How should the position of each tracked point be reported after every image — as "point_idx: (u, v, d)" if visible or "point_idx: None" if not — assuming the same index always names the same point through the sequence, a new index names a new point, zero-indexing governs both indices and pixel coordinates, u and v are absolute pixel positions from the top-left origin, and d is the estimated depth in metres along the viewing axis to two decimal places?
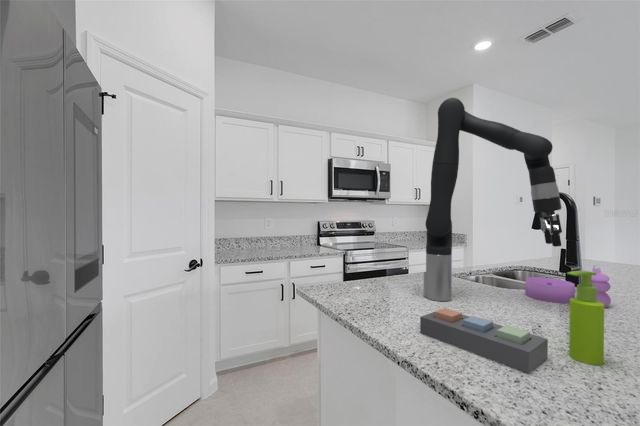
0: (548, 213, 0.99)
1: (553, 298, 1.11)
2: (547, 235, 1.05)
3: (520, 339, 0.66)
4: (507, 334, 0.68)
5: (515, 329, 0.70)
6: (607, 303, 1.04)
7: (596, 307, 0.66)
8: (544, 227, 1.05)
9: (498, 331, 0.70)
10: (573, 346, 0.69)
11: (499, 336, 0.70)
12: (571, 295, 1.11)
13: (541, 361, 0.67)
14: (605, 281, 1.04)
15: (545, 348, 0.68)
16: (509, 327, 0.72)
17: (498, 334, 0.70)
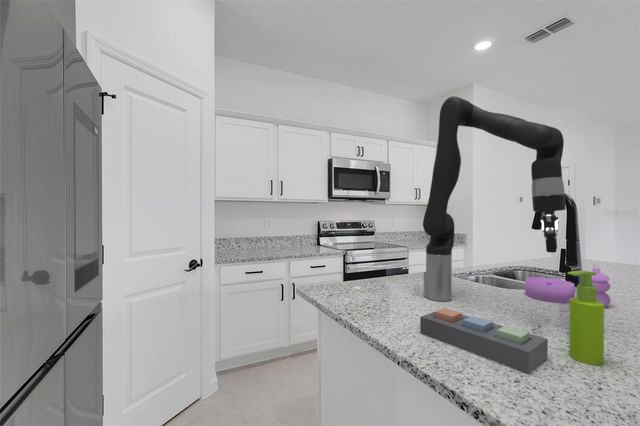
0: (545, 213, 0.84)
1: (553, 298, 1.11)
2: None
3: (520, 339, 0.66)
4: (507, 334, 0.68)
5: (515, 329, 0.70)
6: (607, 303, 1.04)
7: (596, 307, 0.66)
8: None
9: (498, 331, 0.70)
10: (573, 346, 0.69)
11: (499, 336, 0.70)
12: (570, 295, 1.11)
13: (541, 361, 0.67)
14: (605, 280, 1.05)
15: (545, 348, 0.68)
16: (509, 327, 0.72)
17: (498, 334, 0.70)
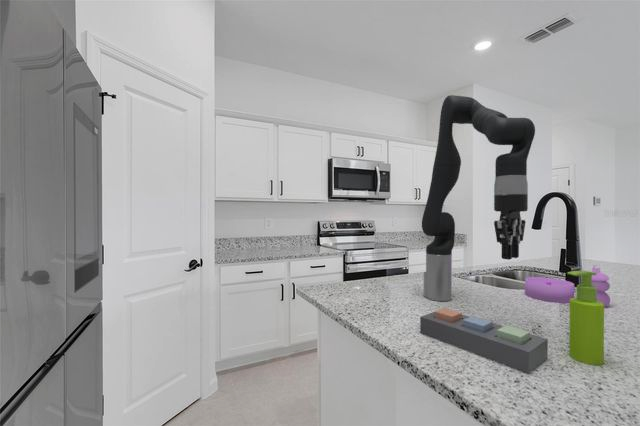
0: (501, 214, 0.78)
1: (554, 298, 1.11)
2: (511, 246, 0.81)
3: (520, 339, 0.66)
4: (507, 334, 0.68)
5: (515, 329, 0.70)
6: (607, 302, 1.05)
7: (596, 307, 0.66)
8: (508, 233, 0.82)
9: (498, 331, 0.70)
10: (573, 346, 0.69)
11: (499, 336, 0.70)
12: (571, 295, 1.11)
13: (541, 361, 0.67)
14: (605, 280, 1.05)
15: (545, 348, 0.68)
16: (509, 327, 0.72)
17: (498, 334, 0.70)
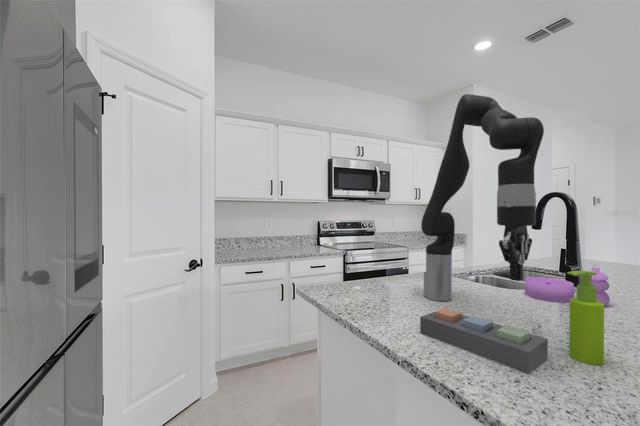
0: (505, 228, 0.68)
1: (554, 298, 1.11)
2: None
3: (520, 339, 0.66)
4: (507, 334, 0.68)
5: (515, 329, 0.70)
6: (607, 302, 1.06)
7: (596, 307, 0.66)
8: None
9: (498, 331, 0.70)
10: (573, 346, 0.69)
11: (499, 336, 0.70)
12: (571, 294, 1.12)
13: (541, 361, 0.67)
14: (605, 280, 1.06)
15: (545, 348, 0.68)
16: (509, 327, 0.72)
17: (498, 334, 0.70)
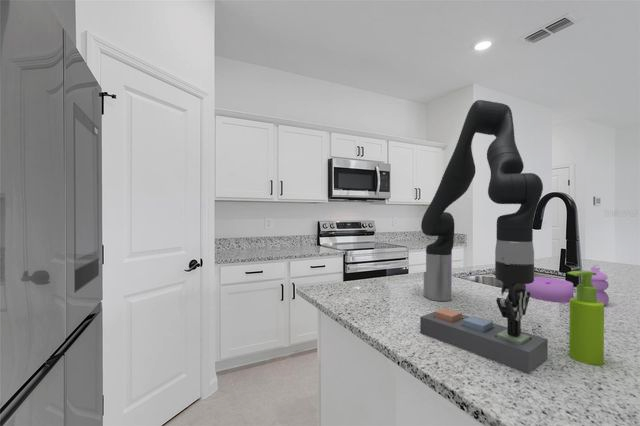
0: (503, 285, 0.68)
1: (555, 297, 1.12)
2: None
3: (520, 343, 0.66)
4: (507, 339, 0.68)
5: None
6: (606, 301, 1.06)
7: (596, 307, 0.66)
8: None
9: (498, 335, 0.70)
10: (573, 346, 0.69)
11: None
12: (571, 294, 1.12)
13: (541, 361, 0.67)
14: (604, 279, 1.07)
15: (545, 348, 0.68)
16: None
17: None
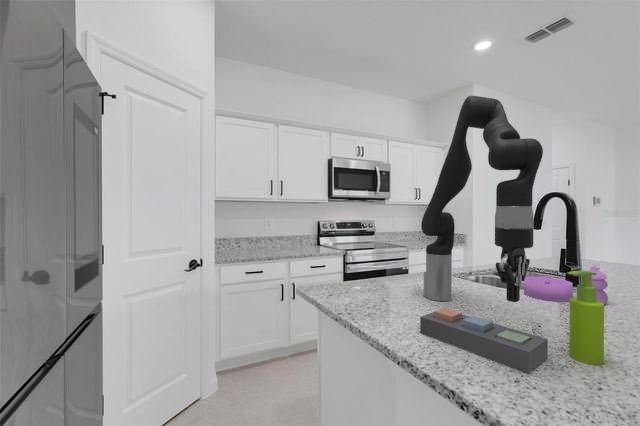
0: (502, 250, 0.68)
1: (555, 297, 1.12)
2: None
3: (520, 344, 0.66)
4: (507, 340, 0.68)
5: (515, 334, 0.70)
6: (606, 300, 1.07)
7: (596, 307, 0.66)
8: None
9: (498, 336, 0.70)
10: (573, 346, 0.69)
11: None
12: (570, 293, 1.13)
13: (541, 361, 0.67)
14: (604, 278, 1.08)
15: (545, 348, 0.68)
16: (509, 332, 0.72)
17: None
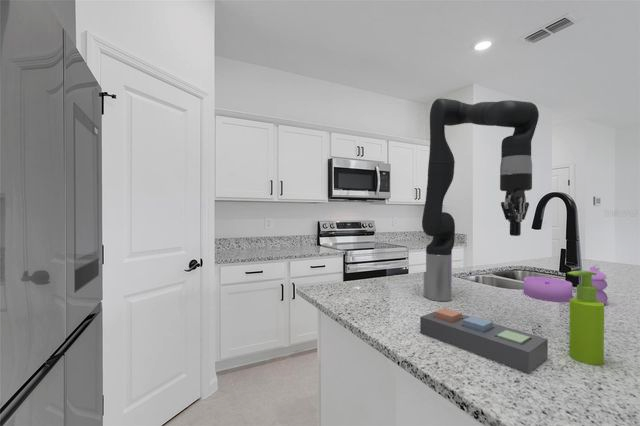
0: (506, 192, 0.83)
1: (555, 297, 1.12)
2: None
3: (520, 344, 0.66)
4: (507, 340, 0.68)
5: (515, 334, 0.70)
6: (605, 300, 1.07)
7: (596, 307, 0.66)
8: None
9: (498, 336, 0.70)
10: (573, 346, 0.69)
11: None
12: (570, 294, 1.13)
13: (541, 361, 0.67)
14: (603, 279, 1.07)
15: (545, 348, 0.68)
16: (509, 332, 0.72)
17: None
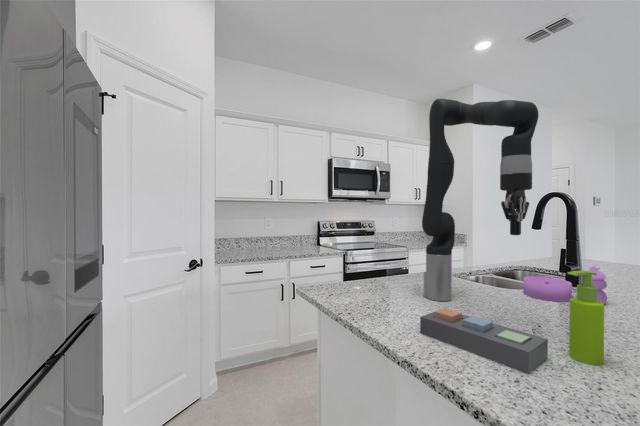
0: (507, 192, 0.83)
1: (554, 297, 1.12)
2: None
3: (520, 344, 0.66)
4: (507, 340, 0.68)
5: (515, 334, 0.70)
6: (605, 300, 1.07)
7: (596, 307, 0.66)
8: None
9: (498, 336, 0.70)
10: (573, 346, 0.69)
11: None
12: (570, 293, 1.13)
13: (541, 361, 0.67)
14: (603, 278, 1.08)
15: (545, 348, 0.68)
16: (509, 332, 0.72)
17: None
